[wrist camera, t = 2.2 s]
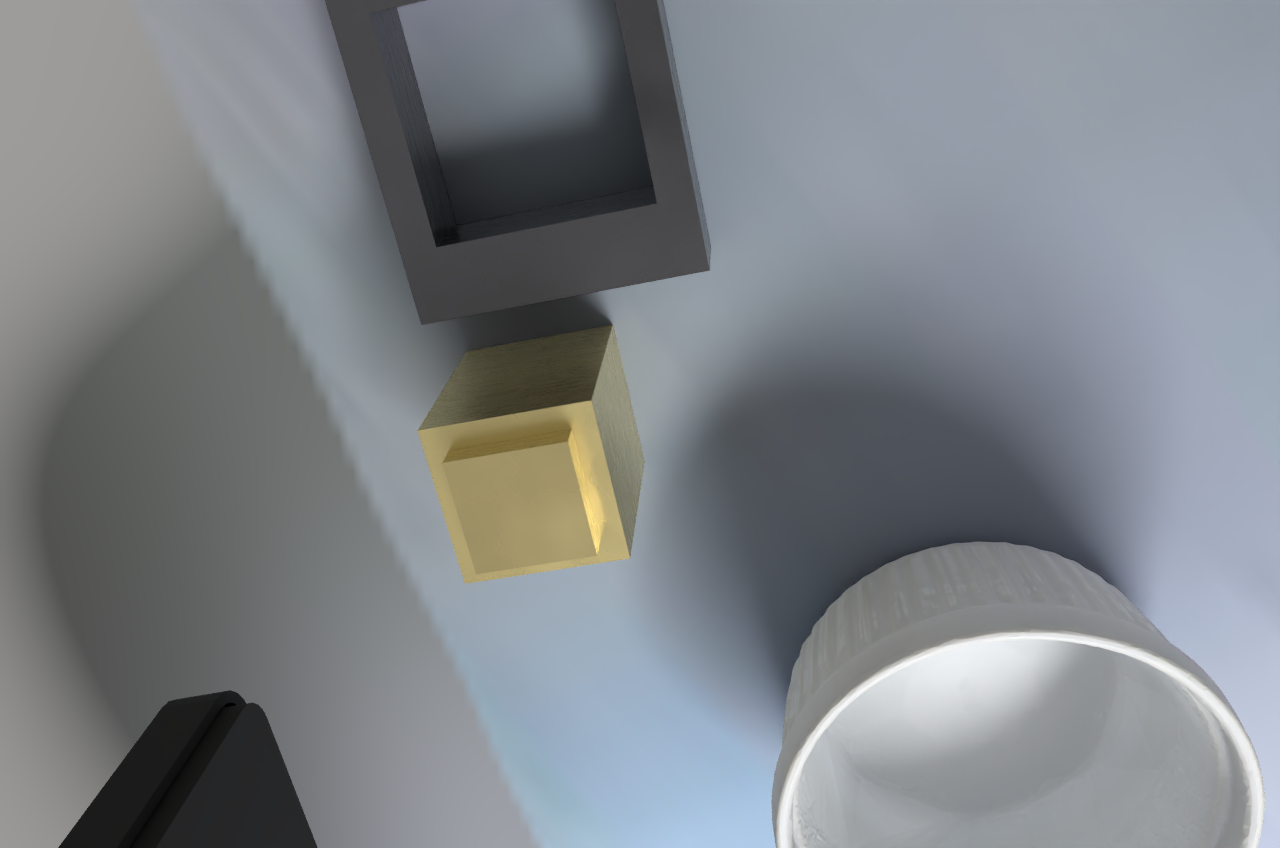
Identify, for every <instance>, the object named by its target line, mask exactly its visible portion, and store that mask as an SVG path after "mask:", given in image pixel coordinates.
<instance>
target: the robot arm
mask: <svg viewBox="0 0 1280 848" xmlns="http://www.w3.org/2000/svg"><path fill="white" fill-rule="evenodd" d="M59 848H317V845H316V843H315V840H314V838H313V835H312V832H311V830H310V828H309V825H308V822H307V820H306V817H305V815H304V812H303V809H302V807H301V804H300V802H299V799H298V797H297V794H296V791H295V789H294V786H293V784H292V781H291V778H290V776H289V773H288V771H287V768H286V766H285V763H284V760H283V758H282V755H281V753H280V750H279V748H278V745H277V743H276V740H275V737H274V735H273V733H272V730H271V727H270V724H269V722H268V719H267V717H266V715H265V713H264V711H263V709H261V707H260V706H259V705H257V704H255V703H248V704H246V702H245V700H244V699H243V698H242V697H241V696H240V695H239V694H238V693H236V692H233V691H231V690H230V691H224V692H219V693H212V694H207V695H201V696H194V697H188V698H182V699H176V700H172V701H169V702H168V703H167V704H166V705H165V706H163V707H162V708H161V710H160V711H159V712H158V714H157V715H156V717H155V718H154V719H153V721H152V722H151V723H150V725H149V726H148V727H147V729H146V730H145V731H144V733H143V734H142V736H141V737H140V738H139V740H138V741H137V742H136V744H135V745H134V746H133V748H132V749H131V750H130V752H129V753H128V754H127V756H126V757H125V759H124V760H123V761H122V763H121V764H120V765H119V767H118V768H117V769H116V771H115V772H114V773H113V775H112V776H111V777H110V779H109V780H108V782H107V783H106V784H105V786H104V787H103V788H102V789H101V791H100V792H99V794H98V795H97V796H96V798H95V799H94V800H93V802H92V803H91V804H90V806H89V807H88V808H87V810H86V811H85V812H84V814H83V815H82V816H81V818H80V819H79V821H78V822H77V823H76V825H75V826H74V827H73V829H72V830H71V831H70V833H69V834H68V835H67V837H66V838H65V839H64V841H63V842H62V843H61V845H60V846H59Z"/></svg>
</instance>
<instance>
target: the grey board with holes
mask: <svg viewBox="0 0 1280 848" xmlns="http://www.w3.org/2000/svg"><path fill="white" fill-rule="evenodd" d="M421 1H425V0H325V2H326V5H327V9H328V12H329V15H330V19H331V22H332V25H333V29H334V32H335V35H336V39H337V42H338V46H339V49H340V52H341V56H342V59H343V62H344V66H345V69H346V72H347V76H348V79H349V82H350V86H351V89H352V93H353V96H354V99H355V103H356V106H357V109H358V113H359V116H360V119H361V123H362V126H363V130H364V133H365V136H366V140H367V143H368V146H369V150H370V153H371V156H372V160H373V163H374V166H375V170H376V173H377V177H378V180H379V183H380V187H381V190H382V193H383V197H384V200H385V203H386V207H387V210H388V213H389V217H390V220H391V224H392V227H393V230H394V234H395V237H396V240H397V244H398V247H399V250H400V254H401V257H402V261H403V264H404V267H405V271H406V274H407V277H408V281H409V284H410V287H411V291H412V294H413V297H414V301H415V304H416V308H417V311H418V314H419V318H420V321H421V324H422V325H423V324H428V323H433V322H439V321H444V320H449V319H454V318H460V317H465V316H470V315H476V314H481V313H486V312H492V311H497V310H502V309H507V308H513V307H518V306H523V305H529V304H534V303H539V302H545V301H550V300H555V299H560V298H566V297H571V296H576V295H582V294H587V293H592V292H598V291H603V290H608V289H613V288H619V287H624V286H629V285H635V284H640V283H645V282H651V281H656V280H661V279H666V278H672V277H677V276H682V275H688V274H693V273H698V272H704V271H709V270H710V253H711V245H710V240H709V235H708V230H707V225H706V219H705V214H704V209H703V204H702V199H701V194H700V188H699V183H698V178H697V173H696V168H695V163H694V157H693V152H692V147H691V142H690V137H689V132H688V126H687V121H686V116H685V111H684V106H683V101H682V95H681V90H680V85H679V80H678V75H677V70H676V64H675V59H674V54H673V49H672V44H671V39H670V33H669V28H668V23H667V18H666V13H665V7H664V2H663V0H615V4H616V9H617V14H618V18H619V23H620V28H621V33H622V38H623V42H624V47H625V52H626V57H627V62H628V66H629V71H630V76H631V81H632V86H633V90H634V95H635V100H636V105H637V110H638V114H639V119H640V124H641V129H642V134H643V138H644V143H645V148H646V153H647V158H648V162H649V167H650V172H651V177H652V182H653V186H651V187H646V188H641V189H636V190H631V191H626V192H621V193H616V194H611V195H606V196H601V197H596V198H591V199H586V200H581V201H576V202H571V203H566V204H561V205H557V206H552V207H547V208H542V209H537V210H532V211H527V212H522V213H517V214H512V215H507V216H502V217H497V218H492V219H487V220H482V221H477V222H472V223H467V224H462V225H457V226H456V222H455V218H454V215H453V211H452V207H451V204H450V200H449V197H448V193H447V189H446V186H445V182H444V178H443V175H442V171H441V168H440V164H439V160H438V157H437V153H436V150H435V146H434V142H433V139H432V135H431V131H430V128H429V124H428V121H427V117H426V113H425V110H424V106H423V102H422V99H421V95H420V92H419V88H418V84H417V81H416V77H415V74H414V70H413V66H412V63H411V59H410V55H409V52H408V48H407V45H406V41H405V37H404V34H403V30H402V26H401V23H400V19H399V16H398V12H397V8H396V7H399V6H404V5H408V4H412V3H417V2H421Z"/></svg>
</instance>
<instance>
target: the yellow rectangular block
mask: <svg viewBox="0 0 1280 848" xmlns="http://www.w3.org/2000/svg"><path fill="white" fill-rule="evenodd" d="M418 433H419V437H420V440H421V443H422V446H423V450H424V453H425V456H426V459H427V463H428V466H429V469H430V472H431V475H432V479H433V482H434V485H435V488H436V492H437V495H438V498H439V501H440V504H441V508H442V511H443V514H444V517H445V521H446V524H447V527H448V530H449V534H450V537H451V540H452V543H453V546H454V550H455V553H456V556H457V559H458V563H459V566H460V569H461V572H462V575H463V579H464V582H465V584H466V583H473V582H479V581H486V580H492V579H499V578H505V577H512V576H518V575H525V574H531V573H538V572H544V571H551V570H557V569H564V568H570V567H577V566H583V565H590V564H596V563H603V562H609V561H616V560H622V559H629V558H630V555H631V549H632V542H633V536H634V529H635V522H636V516H637V509H638V502H639V496H640V489H641V482H642V476H643V469H644V463H645V461H644V457H643V452H642V448H641V444H640V439H639V435H638V431H637V427H636V422H635V418H634V414H633V409H632V405H631V401H630V396H629V392H628V388H627V383H626V379H625V375H624V370H623V366H622V362H621V357H620V353H619V349H618V344H617V340H616V336H615V331H614V327H613V325H608V326H603V327H597V328H592V329H586V330H581V331H576V332H570V333H565V334H559V335H554V336H548V337H543V338H537V339H532V340H527V341H521V342H516V343H510V344H505V345H499V346H494V347H488V348H483V349H477V350H472V351H467V352H466V353H465V355H464V357H463V358H462V360H461V361H460V363H459V365H458V366H457V368H456V369H455V371H454V373H453V374H452V376H451V378H450V379H449V381H448V382H447V384H446V386H445V387H444V389H443V390H442V392H441V394H440V395H439V397H438V399H437V400H436V402H435V403H434V405H433V407H432V408H431V410H430V412H429V413H428V415H427V416H426V418H425V420H424V421H423V423H422V424H421V426H420V428H419V429H418Z"/></svg>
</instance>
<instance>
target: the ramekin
mask: <svg viewBox="0 0 1280 848" xmlns="http://www.w3.org/2000/svg"><path fill="white" fill-rule="evenodd" d="M1264 810H1265V792H1264V786H1263V777H1262V773H1261V769H1260V765H1259V761H1258V758H1257V755H1256V752H1255V750H1254V747H1253V745H1252V743H1251V740H1250V738H1249V737H1248V735H1247V733H1246V731H1245V729H1244V727H1243V725H1242V724H1241V722H1240V720H1239V718H1238V717H1237V715H1236V713H1235V711H1234V709H1233V708H1232V706H1231V705H1230V703H1229V702H1228V700H1227V699H1226V697H1225V696H1224V694H1223V692H1222V691H1221V690H1220V688H1219V687H1218V686H1217V685H1216V683H1215V682H1214V681H1213V680H1212V679H1211V677H1210V676H1209V675H1208V674H1207V673H1206V672H1205V671H1204V670H1203V669H1202V668H1201V667H1200V666H1199V665H1198V664H1197V663H1196V662H1195V661H1193V660H1192V659H1191V658H1190V657H1189V656H1187V655H1186V654H1185V653H1184V652H1182V651H1181V650H1180V649H1178V648H1177V647H1175V646H1174V645H1172V644H1171V643H1170V642H1169V641H1168V640H1167V639H1166V638H1165V637H1164V635H1163V634H1162V633H1161V632H1160V631H1159V630H1158V629H1157V628H1156V627H1155V626H1154V625H1153V624H1152V622H1151V621H1150V620H1149V619H1148V618H1147V617H1146V616H1145V615H1144V614H1143V613H1142V612H1141V611H1139V609H1138V608H1137V607H1136V606H1135V605H1134V604H1133V603H1132V602H1131V601H1130V600H1129V599H1128V598H1127V597H1126V596H1125V595H1124V594H1123V593H1122V592H1121V591H1119V590H1118V589H1117V588H1115V587H1114V586H1112V585H1110V584H1108V583H1107V582H1106V581H1104V580H1103V579H1102V578H1101V577H1100V576H1099V575H1097V574H1096V573H1094V572H1092V571H1090V570H1088V569H1086V568H1084V567H1083V566H1082V565H1080V564H1079V563H1077V562H1075V561H1073V560H1070V559H1067V558H1064V557H1062V556H1060V555H1058V554H1056V553H1054V552H1050V551H1045V550H1040V549H1037V548H1034V547H1032V546H1026V545H1014V544H1011V543H1007V542H979V541H978V542H968V543H953V544H949V545H944V546H939V547H933V548H928V549H925V550H922V551H919V552H916V553H912V554H909V555H906V556H904V557H902V558H900V559H897V560H895V561H892V562H890V563H887V564H885V565H884V566H882V567H880V568H879V569H877V570H875V571H874V572H872V573H870V574H868V575H866V576H864V577H863V578H862V579H861V580H859V581H858V582H857V583H856V584H854V585H852V586H851V587H849V588H848V589H847V590H846V591H845V592H844V593H843V594H842V595H841V596H840V597H839V598H838V599H837V600H836V601H835V602H834V603H832V604H831V605H830V606H829V607H828V608H827V610H826V612H825V614H824V615H823V616H822V617H821V618H820V619H819V620H818V621H817V622H816V624H815V625H814V627H813V629H812V632H811V634H810V636H809V637H808V638H807V639H806V640H805V642H804V643H803V645H802V647H801V651H800V656H799V657H798V659H797V661H796V662H795V665H794V667H793V670H792V676H791V683H790V685H789V690H788V694H787V699H786V706H785V715H784V726H783V741H782V750H781V752H780V755H779V758H778V762H777V766H776V770H775V774H774V782H773V789H772V821H773V830H774V836H775V843H776V848H1257V847H1258V844H1259V840H1260V836H1261V832H1262V825H1263V818H1264Z"/></svg>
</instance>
